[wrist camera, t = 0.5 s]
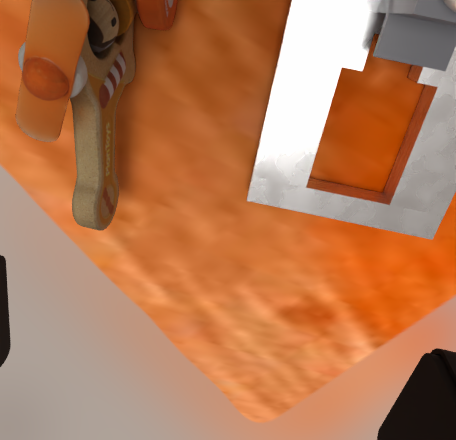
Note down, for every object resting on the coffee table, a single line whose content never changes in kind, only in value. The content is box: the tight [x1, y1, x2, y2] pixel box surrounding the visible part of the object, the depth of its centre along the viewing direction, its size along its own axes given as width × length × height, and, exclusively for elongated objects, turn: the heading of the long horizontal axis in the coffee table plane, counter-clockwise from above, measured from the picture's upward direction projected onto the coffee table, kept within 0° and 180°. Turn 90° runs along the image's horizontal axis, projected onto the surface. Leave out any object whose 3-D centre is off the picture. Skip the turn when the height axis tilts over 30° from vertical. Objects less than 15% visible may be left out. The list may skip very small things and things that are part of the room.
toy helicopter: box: [16, 0, 177, 230], centre depth 28 cm, size 8×21×14 cm, turn 173°
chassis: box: [247, 0, 456, 239], centre depth 30 cm, size 24×16×2 cm, turn 170°
